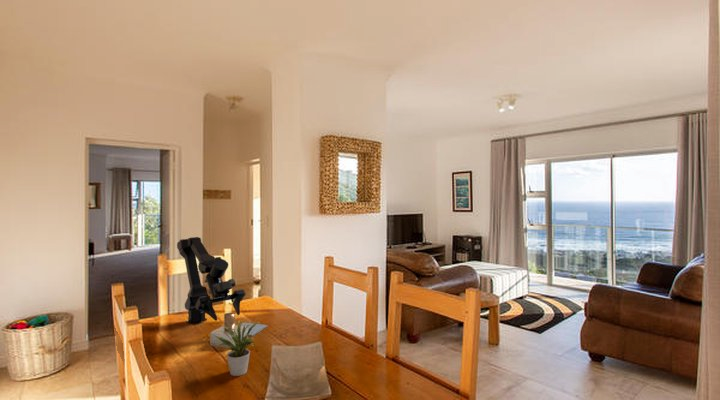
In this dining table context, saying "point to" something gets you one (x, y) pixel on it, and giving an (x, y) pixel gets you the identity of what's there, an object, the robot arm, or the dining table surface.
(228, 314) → the cover
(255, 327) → the mat
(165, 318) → the dining table surface
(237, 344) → the house plant
